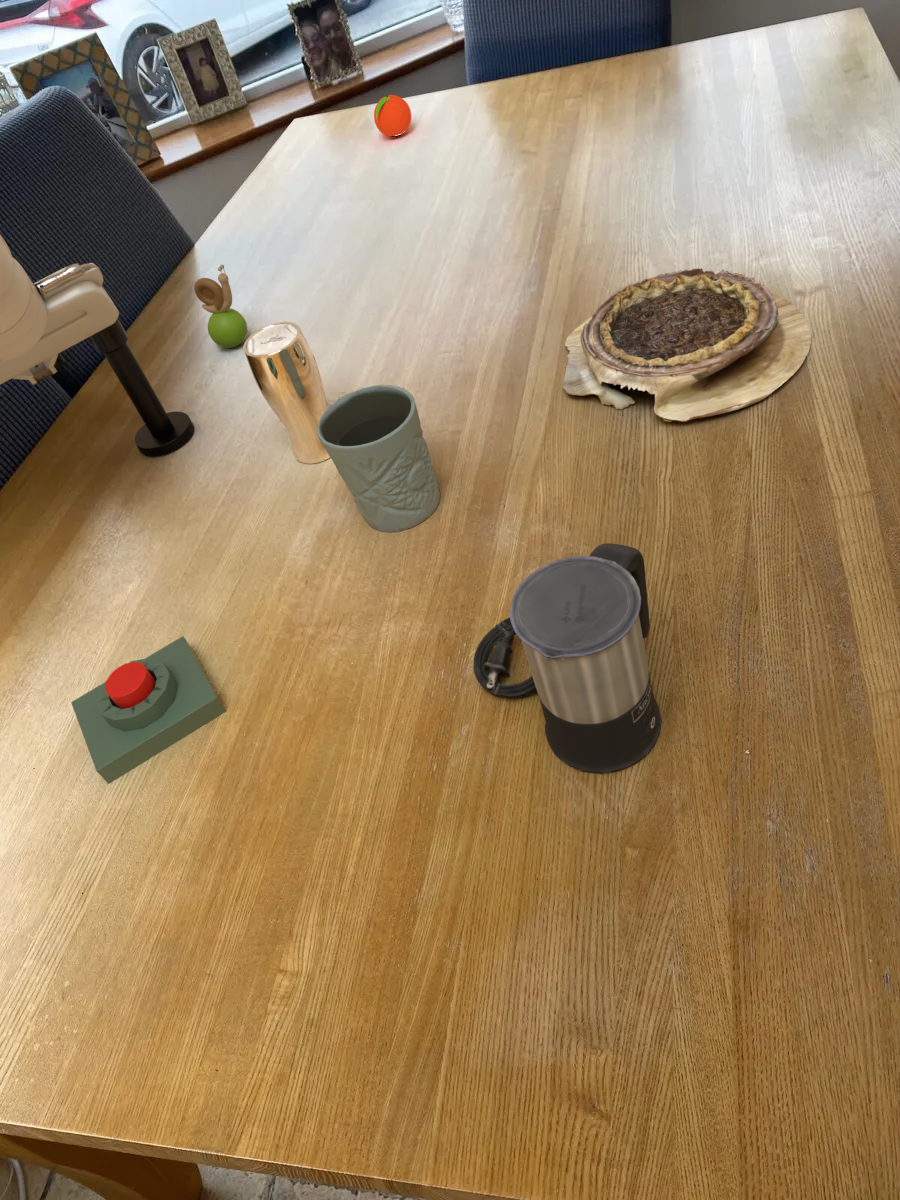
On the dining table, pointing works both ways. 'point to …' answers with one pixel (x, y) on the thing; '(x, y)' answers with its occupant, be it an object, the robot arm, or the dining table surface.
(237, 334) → the snail figurine
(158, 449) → the base
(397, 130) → the clementine
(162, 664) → the control block
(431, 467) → the embossed green cup
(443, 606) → the dining table surface
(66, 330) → the robot arm
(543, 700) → the milk frother
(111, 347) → the spout
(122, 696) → the button
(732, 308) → the pie
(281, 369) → the beer glass
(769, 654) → the dining table surface
